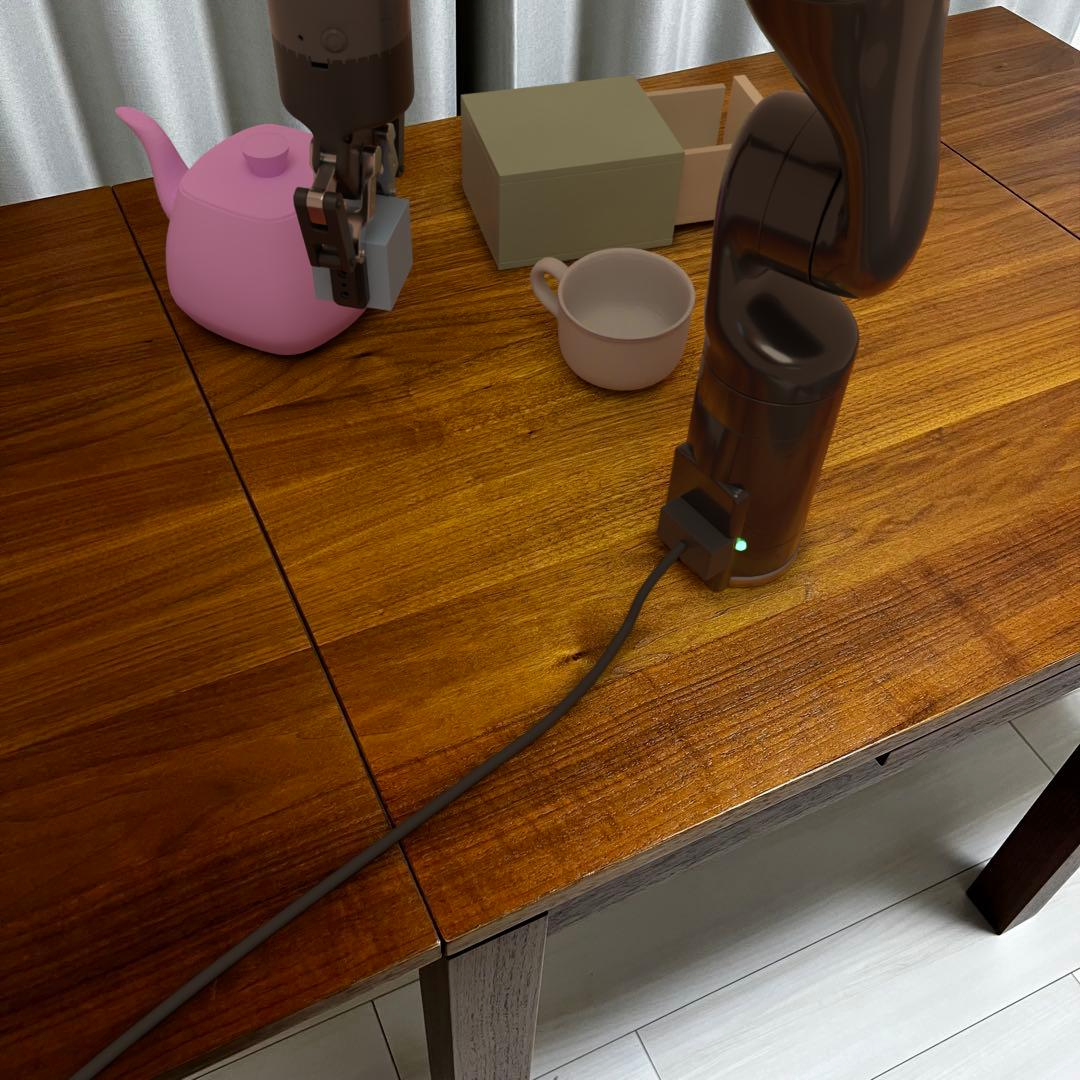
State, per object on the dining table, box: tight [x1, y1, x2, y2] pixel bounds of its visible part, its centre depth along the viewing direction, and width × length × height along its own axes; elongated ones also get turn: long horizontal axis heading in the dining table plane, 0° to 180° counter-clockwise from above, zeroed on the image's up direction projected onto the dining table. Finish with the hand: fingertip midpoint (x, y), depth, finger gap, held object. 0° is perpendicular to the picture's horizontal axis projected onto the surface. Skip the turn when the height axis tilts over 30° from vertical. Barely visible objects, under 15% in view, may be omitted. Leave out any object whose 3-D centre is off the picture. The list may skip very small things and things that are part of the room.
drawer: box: [644, 74, 764, 226], centre depth 112 cm, size 20×12×8 cm, turn 106°
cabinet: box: [460, 74, 685, 271], centre depth 109 cm, size 17×14×10 cm
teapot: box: [115, 106, 368, 356], centre depth 99 cm, size 23×21×15 cm
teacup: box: [529, 248, 696, 391], centre depth 96 cm, size 14×11×8 cm
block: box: [312, 194, 414, 312], centre depth 75 cm, size 5×5×5 cm
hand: (365, 276), depth 77 cm, fingers closed on block, 5 cm apart
